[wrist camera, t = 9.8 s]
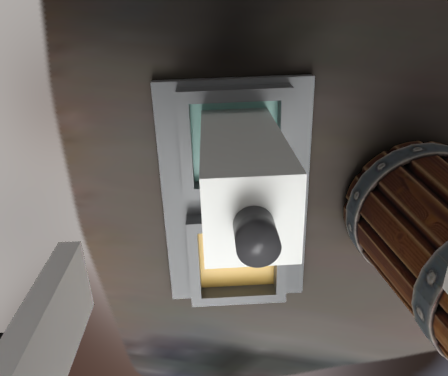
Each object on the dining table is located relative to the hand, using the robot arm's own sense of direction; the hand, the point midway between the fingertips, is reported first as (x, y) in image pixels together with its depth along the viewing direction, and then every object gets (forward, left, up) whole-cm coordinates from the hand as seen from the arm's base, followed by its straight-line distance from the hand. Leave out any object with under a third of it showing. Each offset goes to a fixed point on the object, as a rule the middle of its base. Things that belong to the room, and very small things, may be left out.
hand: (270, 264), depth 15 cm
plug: (0, 0, -16) cm, 16 cm away
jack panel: (+5, 0, -17) cm, 17 cm away
